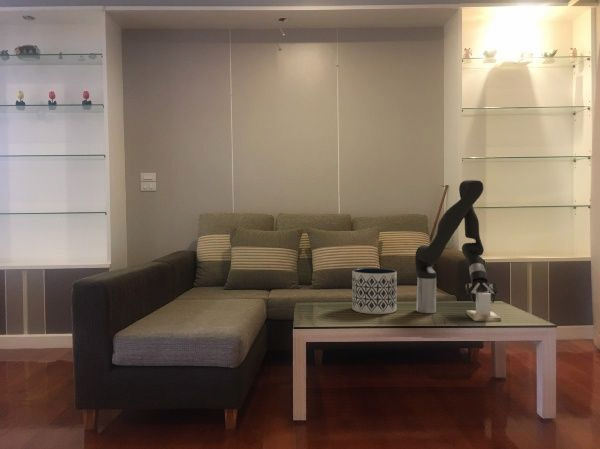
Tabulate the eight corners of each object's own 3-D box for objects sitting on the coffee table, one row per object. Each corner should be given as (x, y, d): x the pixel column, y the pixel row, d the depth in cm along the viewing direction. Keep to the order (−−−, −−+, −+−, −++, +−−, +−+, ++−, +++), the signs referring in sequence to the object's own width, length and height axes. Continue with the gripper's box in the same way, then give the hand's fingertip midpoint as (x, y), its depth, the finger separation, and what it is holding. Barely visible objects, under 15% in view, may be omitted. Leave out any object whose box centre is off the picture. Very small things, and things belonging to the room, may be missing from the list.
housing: (478, 314, 236) (478, 293, 236) (475, 312, 242) (475, 292, 241) (490, 315, 236) (490, 294, 235) (487, 312, 241) (487, 292, 241)
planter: (346, 312, 249) (346, 271, 249) (360, 304, 269) (360, 267, 269) (390, 316, 240) (390, 274, 239) (401, 308, 260) (401, 269, 259)
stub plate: (474, 320, 231) (474, 308, 231) (466, 313, 247) (466, 302, 247) (501, 321, 230) (501, 309, 230) (491, 313, 246) (491, 302, 246)
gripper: (464, 269, 246) (469, 296, 235) (494, 270, 245) (501, 297, 234) (462, 278, 252) (467, 305, 240) (491, 279, 250) (497, 306, 239)
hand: (483, 301), depth 237 cm, fingers open, 8 cm apart
